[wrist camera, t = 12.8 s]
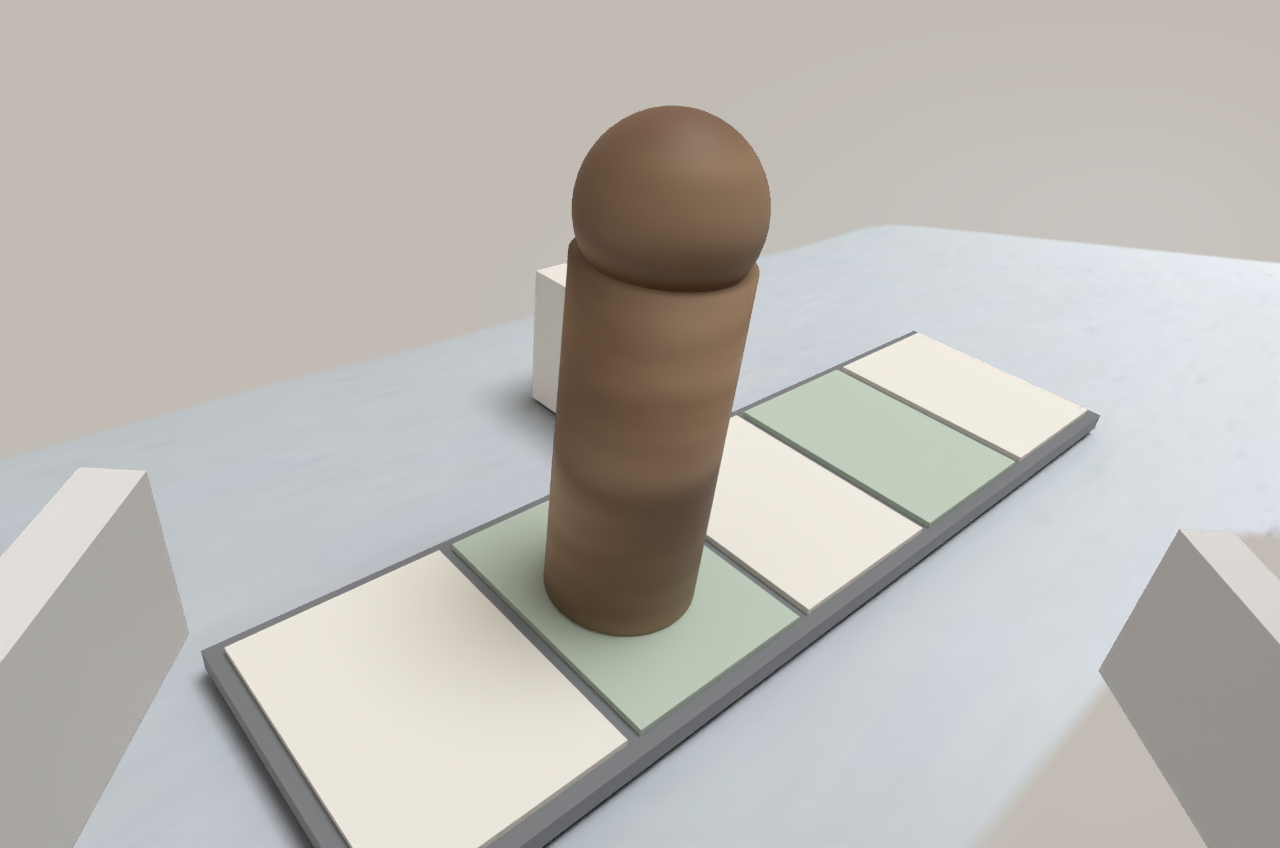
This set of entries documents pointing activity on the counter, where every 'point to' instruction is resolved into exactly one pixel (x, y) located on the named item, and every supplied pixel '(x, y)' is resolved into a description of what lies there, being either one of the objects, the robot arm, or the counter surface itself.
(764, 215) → the pawn
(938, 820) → the counter surface
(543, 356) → the die
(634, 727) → the board
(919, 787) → the counter surface
